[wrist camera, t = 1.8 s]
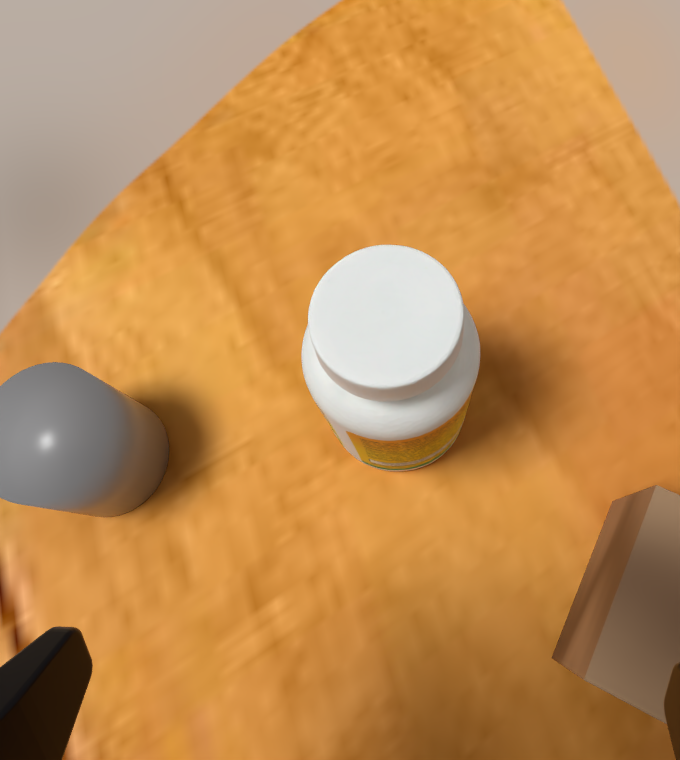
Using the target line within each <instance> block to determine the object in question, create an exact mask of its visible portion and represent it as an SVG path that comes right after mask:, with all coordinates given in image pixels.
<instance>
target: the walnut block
mask: <svg viewBox="0 0 680 760" xmlns="http://www.w3.org/2000/svg"><path fill="white" fill-rule="evenodd" d="M552 659H554V660H555V661H557V662H558V663H560V664H561V665H563V666H564V667H566V668H567V669H569V670H570V671H572V672H573V673H574V674H576V675H577V676H579V677H580V678H582V679H583V680H585V681H587V682H589V683H591V684H592V685H594V686H596V687H598V688H600V689H602V690H604V691H606V692H607V693H609V694H611V695H613V696H615V697H617V698H619V699H621V700H622V701H624V702H626V703H628V704H630V705H632V706H634V707H636V708H637V709H639V710H641V711H643V712H645V713H647V714H649V715H651V716H652V717H654V718H656V719H658V720H660V721H662V722H664V723H666V724H667V722H666V718H665V712H664V698H665V694H666V690H667V687H668V683H669V680H670V676H671V673H672V669H673V667H674V665H675V664H677V663H679V662H680V495H678V494H676V493H673V492H671V491H669V490H667V489H664V488H662V487H660V486H657V485H655V486H653V487H650V488H647V489H644V490H642V491H639V492H636V493H634V494H631V495H628V496H625V497H623V498H620V499H617V500H615V501H612V504H611V507H610V509H609V512H608V514H607V517H606V519H605V522H604V525H603V527H602V530H601V532H600V535H599V537H598V540H597V543H596V545H595V548H594V550H593V553H592V555H591V558H590V561H589V563H588V566H587V568H586V571H585V573H584V576H583V578H582V581H581V584H580V586H579V589H578V591H577V594H576V596H575V599H574V602H573V604H572V607H571V609H570V612H569V614H568V617H567V620H566V622H565V625H564V627H563V630H562V632H561V635H560V638H559V640H558V643H557V645H556V648H555V650H554V653H553V656H552Z"/></svg>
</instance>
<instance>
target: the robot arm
mask: <svg viewBox="0 0 680 760" xmlns="http://www.w3.org/2000/svg"><path fill="white" fill-rule="evenodd" d="M91 674H92V659H91V656H90V654H89V651H88V648H87V646H86V643H85V641H84V638H83V635H82V633H81V631H80V630H79V629H77V628H74V627H53V628H51V629H49V630H48V631H46V632H45V633H44V634H42V635H41V636H40V637H38V638H37V639H36V640H35V641H33V642H32V643H31V644H29V645H28V646H27V647H26V648H24V649H23V650H22V651H20V652H19V653H18V654H17V655H15V656H14V657H13V658H11V659H10V660H9V661H8V662H6V663H5V664H4V665H2V666H1V667H0V760H62V758H63V755H64V753H65V750H66V747H67V744H68V741H69V738H70V735H71V732H72V730H73V727H74V724H75V721H76V718H77V715H78V712H79V710H80V707H81V704H82V701H83V698H84V695H85V692H86V689H87V687H88V684H89V681H90V678H91ZM664 712H665V718H666V722H667V726H668V730H669V734H670V738H671V742H672V746H673V750H674V754H675V758H676V760H680V662H679V663H677V664H675V665H674V667H673V669H672V673H671V676H670V680H669V683H668V687H667V690H666V694H665V698H664Z"/></svg>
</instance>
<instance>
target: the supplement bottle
mask: <svg viewBox="0 0 680 760" xmlns="http://www.w3.org/2000/svg"><path fill="white" fill-rule="evenodd" d="M479 365H480V342H479V336H478V333H477V329H476V326H475V323H474V321H473V319H472V317H471V315H470V313H469V311H468V310H467V308H466V306H465V305H464V304H463V300H462V296H461V293H460V291H459V288H458V286H457V284H456V282H455V280H454V279H453V277H452V276H451V274H450V273H449V272H448V271H447V269H446V268H445V267H444V266H443V265H442V264H441V263H439V262H438V261H437V260H435V259H434V258H433V257H431V256H429V255H428V254H426V253H424V252H422V251H419V250H417V249H413V248H410V247H406V246H400V245H377V246H371V247H367V248H364V249H361V250H358V251H355V252H353V253H351V254H349V255H348V256H346V257H344V258H343V259H341V260H340V261H338V262H337V263H336V264H335V265H333V266H332V267H331V268H330V269H329V270H328V271H327V272H326V274H325V275H324V276H323V277H322V279H321V280H320V282H319V283H318V285H317V287H316V289H315V290H314V293H313V296H312V298H311V302H310V306H309V312H308V326H307V328H306V331H305V335H304V339H303V344H302V368H303V374H304V378H305V381H306V384H307V387H308V389H309V391H310V393H311V395H312V397H313V399H314V401H315V402H316V404H317V406H318V407H319V409H320V411H321V412H322V414H323V415H324V417H325V418H326V420H327V421H328V423H329V425H330V426H331V428H332V430H333V431H334V433H335V435H336V436H337V438H338V440H339V441H340V443H341V444H342V445H343V446H344V447H345V449H346V450H347V451H348V452H349V453H350V454H351V455H353V456H354V457H355V458H356V459H358V460H359V461H361V462H363V463H365V464H367V465H369V466H371V467H373V468H377V469H380V470H386V471H408V470H413V469H418V468H421V467H424V466H426V465H428V464H430V463H432V462H434V461H435V460H437V459H438V458H439V457H441V456H442V455H443V454H444V453H445V452H446V451H447V450H448V449H449V448H450V447H451V446H452V444H453V443H454V442H455V440H456V438H457V436H458V434H459V432H460V430H461V427H462V425H463V422H464V419H465V416H466V412H467V409H468V406H469V402H470V399H471V395H472V392H473V389H474V386H475V382H476V379H477V376H478V371H479Z"/></svg>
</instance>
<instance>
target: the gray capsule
mask: <svg viewBox="0 0 680 760" xmlns="http://www.w3.org/2000/svg"><path fill="white" fill-rule="evenodd" d="M168 459H169V441H168V436H167V433H166V430H165V428H164V426H163V424H162V422H161V420H160V419H159V418H158V416H157V415H156V414H155V413H154V412H153V411H151V410H150V409H149V408H147V407H146V406H144V405H142V404H141V403H139V402H137V401H136V400H134V399H132V398H130V397H129V396H127V395H125V394H124V393H122V392H120V391H118V390H117V389H115V388H113V387H112V386H110V385H108V384H107V383H105V382H103V381H101V380H100V379H98V378H96V377H95V376H93V375H91V374H90V373H88V372H86V371H84V370H83V369H81V368H79V367H76V366H74V365H71V364H66V363H56V362H53V363H43V364H39V365H35V366H32V367H29V368H27V369H25V370H23V371H20V372H19V373H17V374H15V375H14V376H12V377H11V378H10V379H8V380H7V381H6V382H5V383H3V384H2V385H1V386H0V497H1V498H2V499H5V500H7V501H9V502H13V503H17V504H22V505H28V506H34V507H40V508H47V509H53V510H59V511H65V512H71V513H78V514H84V515H90V516H96V517H113V516H119V515H122V514H125V513H127V512H129V511H132V510H134V509H135V508H137V507H138V506H140V505H141V504H142V503H144V502H145V501H146V500H147V499H148V498H149V497H150V496H151V495H152V494H153V493H154V491H155V490H156V489H157V487H158V486H159V484H160V482H161V481H162V478H163V476H164V474H165V471H166V468H167V465H168Z"/></svg>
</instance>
